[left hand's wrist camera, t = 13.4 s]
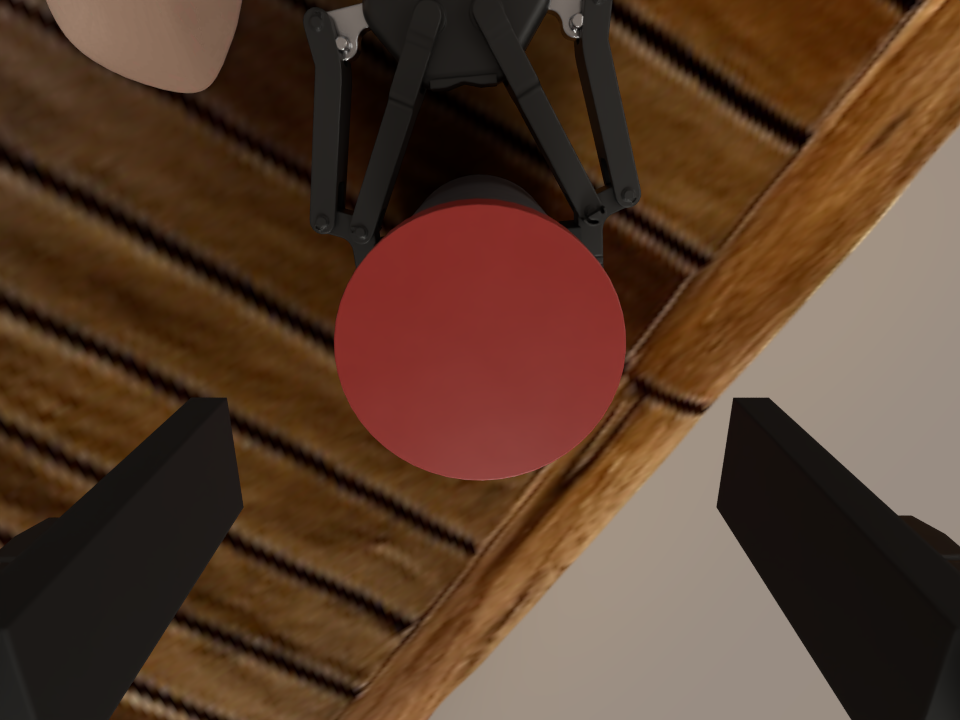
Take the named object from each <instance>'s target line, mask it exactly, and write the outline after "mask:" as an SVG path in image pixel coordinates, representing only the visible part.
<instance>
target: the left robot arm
mask: <svg viewBox="0 0 960 720" xmlns="http://www.w3.org/2000/svg"><path fill="white" fill-rule="evenodd" d="M242 509H243V501H242V494H241V488H240V481H239V475H238V468H237V462H236V455H235V448H234V442H233V435H232V429H231V422H230V416H229V409H228V403H227V398H190V399H189V400H188V401H187V402H186V403H185V404H184V405H183V406H182V407H181V408H179V409H178V410H177V411H176V412H175V413H174V414H173V415H172V416H171V417H170V418H168V419H167V420H166V421H165V422H164V423H163V424H162V425H161V426H160V427H159V428H158V429H156V430H155V431H154V432H153V433H152V434H151V435H150V436H149V437H148V438H147V439H145V440H144V441H143V442H142V443H141V444H140V445H139V446H138V447H137V448H136V449H134V450H133V451H132V452H131V453H130V454H129V455H128V456H127V457H126V458H125V459H124V460H122V461H121V462H120V463H119V464H118V465H117V466H116V467H115V468H114V469H113V470H111V471H110V472H109V473H108V474H107V475H106V476H105V477H104V478H103V479H102V480H100V481H99V482H98V483H97V484H96V485H95V486H94V487H93V488H92V489H91V490H90V491H88V492H87V493H86V494H85V495H84V496H83V497H82V498H81V499H80V500H79V501H77V502H76V503H75V504H74V505H73V506H72V507H71V508H70V509H69V510H68V511H66V512H65V513H64V514H63V515H62V516H61V517H60V518H48V519H46V520H44V521H42V522H40V523H38V524H37V525H35V526H33V527H31V528H29V529H28V530H26V531H24V532H22V533H20V534H19V535H17V536H15V537H14V538H13V539H12V540H10V541H9V542H8V543H7V544H6V545H5V546H4V547H2V548H1V549H0V720H109V718H110V717H111V715H112V714H113V712H114V710H115V709H116V707H117V706H118V704H119V703H120V701H121V699H122V698H123V696H124V695H125V693H126V692H127V690H128V688H129V687H130V685H131V684H132V682H133V680H134V679H135V677H136V676H137V674H138V673H139V671H140V669H141V668H142V666H143V665H144V663H145V662H146V660H147V658H148V657H149V655H150V654H151V652H152V651H153V649H154V647H155V646H156V644H157V643H158V641H159V640H160V638H161V636H162V635H163V633H164V632H165V630H166V629H167V627H168V625H169V624H170V622H171V621H172V619H173V617H174V616H175V614H176V613H177V611H178V610H179V608H180V606H181V605H182V603H183V602H184V600H185V599H186V597H187V595H188V594H189V592H190V591H191V589H192V588H193V586H194V584H195V583H196V581H197V580H198V578H199V577H200V575H201V573H202V572H203V570H204V569H205V567H206V565H207V564H208V562H209V561H210V559H211V558H212V556H213V554H214V553H215V551H216V550H217V548H218V547H219V545H220V543H221V542H222V540H223V539H224V537H225V536H226V534H227V532H228V531H229V529H230V528H231V526H232V525H233V523H234V521H235V520H236V518H237V517H238V515H239V513H240V512H241V510H242ZM717 509H718V510H719V512H720V513H721V515H722V517H723V518H724V520H725V521H726V523H727V525H728V526H729V528H730V529H731V531H732V532H733V534H734V536H735V537H736V539H737V540H738V542H739V543H740V545H741V547H742V548H743V550H744V551H745V553H746V554H747V556H748V558H749V559H750V561H751V562H752V564H753V565H754V567H755V569H756V570H757V572H758V573H759V575H760V576H761V578H762V580H763V581H764V583H765V584H766V586H767V588H768V589H769V591H770V592H771V594H772V595H773V597H774V599H775V600H776V602H777V603H778V605H779V606H780V608H781V610H782V611H783V613H784V614H785V616H786V617H787V619H788V620H789V622H790V624H791V625H792V627H793V628H794V630H795V632H796V633H797V635H798V636H799V638H800V640H801V641H802V643H803V644H804V646H805V647H806V649H807V651H808V652H809V654H810V655H811V657H812V658H813V660H814V662H815V663H816V665H817V666H818V668H819V669H820V671H821V673H822V674H823V676H824V677H825V679H826V681H827V682H828V684H829V685H830V687H831V688H832V690H833V692H834V693H835V695H836V696H837V698H838V699H839V701H840V703H841V704H842V706H843V707H844V709H845V710H846V712H847V714H848V715H849V717H850V718H851V720H960V546H959V545H957V544H956V543H955V542H954V541H953V540H952V539H950V538H949V537H948V536H947V535H946V534H944V533H942V532H941V531H939V530H937V529H935V528H933V527H931V526H930V525H928V524H926V523H924V522H922V521H920V520H919V519H917V518H915V517H913V516H898V515H897V514H896V513H895V512H894V511H892V510H891V509H890V508H889V507H888V506H887V505H886V504H885V503H884V502H883V501H881V500H880V499H879V498H878V497H877V496H876V495H875V494H874V493H873V492H872V491H870V490H869V489H868V488H867V487H866V486H865V485H864V484H863V483H862V482H861V481H860V480H858V479H857V478H856V477H855V476H854V475H853V474H852V473H851V472H850V471H849V470H847V469H846V468H845V467H844V466H843V465H842V464H841V463H840V462H839V461H838V460H836V459H835V458H834V457H833V456H832V455H831V454H830V453H829V452H828V451H827V450H826V449H824V448H823V447H822V446H821V445H820V444H819V443H818V442H817V441H816V440H815V439H813V438H812V437H811V436H810V435H809V434H808V433H807V432H806V431H805V430H804V429H802V428H801V427H800V426H799V425H798V424H797V423H796V422H795V421H794V420H793V419H792V418H790V417H789V416H788V415H787V414H786V413H785V412H784V411H783V410H782V409H781V408H779V407H778V406H777V405H776V404H775V403H774V402H773V401H772V400H771V399H770V398H733V403H732V409H731V416H730V423H729V429H728V435H727V442H726V449H725V455H724V462H723V468H722V475H721V481H720V488H719V494H718V501H717Z"/></svg>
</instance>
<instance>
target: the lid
mask: <svg viewBox="0 0 960 720" xmlns="http://www.w3.org/2000/svg"><path fill="white" fill-rule="evenodd" d="M334 351H335V361H336V366H337V372H338V376H339V379H340V382H341V385H342V388H343V391H344V393H345V395H346V397H347V400H348V402H349V404H350V406H351V408H352V409H353V411H354V412H355V414H356V415H357V417H358V418H359V420H360V421H361V423H362V424H363V425H364V426H365V427H366V429H367V430H368V431H369V432H370V433H371V435H372V436H373V437H375V438H376V439H377V440H378V441H379V442H380V443H381V444H382V445H383V446H384V447H386V448H387V449H388V450H390V451H391V452H393V453H394V454H395V455H397V456H398V457H400V458H401V459H403V460H405V461H407V462H409V463H411V464H412V465H414V466H417V467H419V468H421V469H424V470H426V471H429V472H432V473H435V474H439V475H443V476H446V477H451V478H458V479H464V480H494V479H503V478H508V477H513V476H518V475H521V474H525V473H528V472H531V471H534V470H536V469H539V468H541V467H543V466H545V465H547V464H550V463H552V462H553V461H555V460H557V459H558V458H560V457H562V456H563V455H565V454H566V453H568V452H569V451H570V450H571V449H573V448H574V447H575V446H577V445H578V444H579V443H580V442H581V441H582V440H583V439H584V438H585V437H586V436H587V435H588V434H589V433H590V432H591V431H592V430H593V429H594V428H595V426H596V425H597V424H598V422H599V421H600V420H601V418H602V417H603V416H604V414H605V412H606V411H607V409H608V407H609V405H610V404H611V402H612V400H613V398H614V395H615V393H616V390H617V388H618V386H619V382H620V379H621V375H622V371H623V367H624V360H625V352H626V331H625V324H624V318H623V312H622V309H621V306H620V302H619V299H618V296H617V293H616V291H615V289H614V287H613V285H612V282H611V280H610V278H609V277H608V275H607V274H606V272H605V270H604V269H603V267H602V266H601V264H600V263H599V261H598V260H597V259H596V258H595V257H594V256H593V254H592V253H591V252H590V251H589V250H588V249H587V247H586V246H585V245H584V244H583V243H582V242H581V241H580V240H579V239H578V238H577V237H576V236H575V235H573V234H572V233H571V232H570V231H569V230H568V229H567V228H565V227H564V226H563V225H561V224H560V223H558V222H557V221H555V220H554V219H552V218H551V217H549V216H547V215H545V214H543V213H541V212H539V211H537V210H535V209H532V208H529V207H526V206H523V205H520V204H517V203H514V202H508V201H503V200H497V199H478V198H476V199H465V200H456V201H452V202H447V203H443V204H439V205H436V206H434V207H431V208H428V209H426V210H423V211H421V212H419V213H417V214H415V215H413V216H411V217H410V218H408V219H406V220H404V221H403V222H402V223H400V224H399V225H398V226H396V227H395V228H393V229H392V230H391V231H390V232H389V233H388V234H386V235H385V236H384V237H383V238H382V239H381V240H380V241H379V242H378V243H377V244H376V245H375V246H374V247H373V248H372V250H371V251H370V252H369V253H368V254H367V255H366V257H365V258H364V259H363V260H362V262H361V263H360V264H359V266H358V267H357V268H356V270H355V272H354V273H353V275H352V277H351V279H350V280H349V282H348V284H347V286H346V289H345V291H344V294H343V296H342V299H341V301H340V305H339V309H338V313H337V317H336V323H335V333H334Z"/></svg>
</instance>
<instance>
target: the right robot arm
mask: <svg viewBox="0 0 960 720" xmlns="http://www.w3.org/2000/svg"><path fill="white" fill-rule="evenodd" d="M611 8H612V0H363V1H362V3H360V4H356V5H353V6H349V7H345V8H341V9H337V10H333V11H329V12H326V11H324V10H323V9H321V8H318V7H313V8H311V9H309V10H307V12H306V13H305V15H304V19H303V23H304V28H305V32H306V35H307V39H308V42H309V46H310V49H311V53H312V56H313V60H314V64H315V91H314V119H313V146H312V174H311V202H310V224H311V227H312V228H313V230H315V231H316V232H317V233H320V234H331V235H335V236H338V237H342V238H344V239H346V240H347V241H348V242H349V243H350V244H351V246H352V248H353V252H354V258H355V264H356V268H357V267H358V266H359V264H360V263H361V262H362V260H363V259H364V258H365V257H366V255H367V254H368V253H369V252H370V251H371V250H372V248H373V247H374V246H375V245H376V244H377V243H378V242H379V241H380V240H381V239H382V238H383V237H381V238H380V232H379V231H380V230H381V228H382V227H381V224H382V221H383V218H384V215H385V212H386V209H387V206H388V203H389V200H390V197H391V194H392V191H393V188H394V185H395V181H396V178H397V175H398V172H399V169H400V166H401V163H402V160H403V157H404V154H405V151H406V148H407V145H408V142H409V139H410V136H411V133H412V130H413V127H414V124H415V121H416V117H417V115H418V112H419V110H420V108H421V105H422V102H423V99H424V96H425V93H426V90H427V89H428V90H432V91H433V92H439V91H449V90H452V89H454V88H457V87H459V86H462V85H470V86H475V87H481V88H482V87H493V86H497V84H499V83H501V82H503V83H504V85H505V87H506V89H507V91H508V92H509V94H510V96H511V98H512V100H513V101H514V103H515V104H516V106H517V108H518V110H519V111H520V113H521V115H522V117H523V119H524V121H525V123H526V125H527V126H528V128H529V130H530V132H531V134H532V136H533V138H534V139H535V141H536V143H537V145H538V147H539V149H540V151H541V152H542V154H543V156H544V158H545V160H546V162H547V164H548V165H549V167H550V169H551V171H552V173H553V175H554V177H555V179H556V180H557V182H558V184H559V186H560V188H561V190H562V192H563V193H564V195H565V197H566V199H567V201H568V203H569V205H570V206H571V208H572V210H573V212H574V220H569V221H559V223H560V224H561V225H563V226H564V227H565V228H567V229H568V230H569V231H570V232H571V233H572V234H573V235H575V236H576V237H577V238H578V239H579V240H580V241H581V242H582V243H583V244H584V245H585V246H586V247H587V249H588V250H589V251H590V252H591V253H592V254H593V256H594V257H595V258H596V259H597V260H598V261H599V263H600V264H601V266H602V267H603V231H602V229H603V224H604V221H605V220H606V218H607V217H608V216H609V215H611V214H613V213H615V212H617V211H619V210H621V209H624V208H627V207H632V206H634V205H636V204H637V203H638V201H639V200H640V197H641V190H640V185H639V180H638V176H637V171H636V166H635V162H634V157H633V152H632V148H631V143H630V138H629V134H628V129H627V124H626V120H625V115H624V110H623V106H622V101H621V96H620V92H619V87H618V82H617V77H616V73H615V68H614V63H613V59H612V54H611V49H610V45H609V40H608V36H609V27H610V18H611ZM546 13H548V14H552V15H554V16H555V17H556V18H557V19H558V21H559V23H560V29H561V33H562V35H563V36H564V37H565V38H566V39H567V40H571V41H574V47H575V58H576V63H577V68H578V72H579V77H580V81H581V85H582V90H583V94H584V98H585V103H586V107H587V111H588V115H589V120H590V124H591V128H592V133H593V137H594V141H595V146H596V150H597V154H598V158H599V163H600V167H601V171H602V176H603V180H604V184H605V186H603V187H601V188H599V189H596V190H594V188H593V186H592V184H591V182H590V180H589V178H588V176H587V174H586V172H585V170H584V168H583V166H582V164H581V163H580V161H579V159H578V157H577V155H576V153H575V151H574V149H573V147H572V145H571V143H570V141H569V139H568V138H567V136H566V134H565V132H564V130H563V128H562V126H561V124H560V122H559V120H558V118H557V116H556V114H555V112H554V111H553V109H552V107H551V105H550V103H549V101H548V99H547V97H546V95H545V93H544V91H543V89H542V87H541V85H540V82H539V79H538V77H537V75H536V73H535V71H534V69H533V67H532V65H531V63H530V61H529V60H528V58H527V56H526V54H525V50H526V48H527V47H528V45H529V43H530V41H531V39H532V38H533V36H534V34H535V32H536V31H537V29H538V27H539V25H540V24H541V22H542V20H543V18H544V16H545V15H546ZM370 30H372V31H373V33H374V34H375V35H376V36H377V37H378V39H379V40H380V41H381V42H382V44H383V45H384V46H385V47H386V48H387V50H388V51H389V52H390V53H391V54H392V56H393V57H394V58H395V59H396V61H397V62H398V66H397V69H396V72H395V75H394V79H393V82H392V85H391V89H390V92H389V99H388V104H387V107H386V110H385V113H384V116H383V120H382V123H381V126H380V129H379V133H378V136H377V139H376V142H375V145H374V149H373V152H372V155H371V158H370V162H369V165H368V168H367V171H366V174H365V178H364V181H363V184H362V187H361V190H360V194H359V197H358V200H357V203H356V207H355V210H354V211H352V210H348V209H345V201H346V183H347V164H348V146H349V128H350V110H351V92H352V73H351V64H350V62H352V61H354V60H356V59H357V58H358V57H359V55H360V52H361V40H362V37H363V36H364V34H365V33H366V32H368V31H370Z"/></svg>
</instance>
